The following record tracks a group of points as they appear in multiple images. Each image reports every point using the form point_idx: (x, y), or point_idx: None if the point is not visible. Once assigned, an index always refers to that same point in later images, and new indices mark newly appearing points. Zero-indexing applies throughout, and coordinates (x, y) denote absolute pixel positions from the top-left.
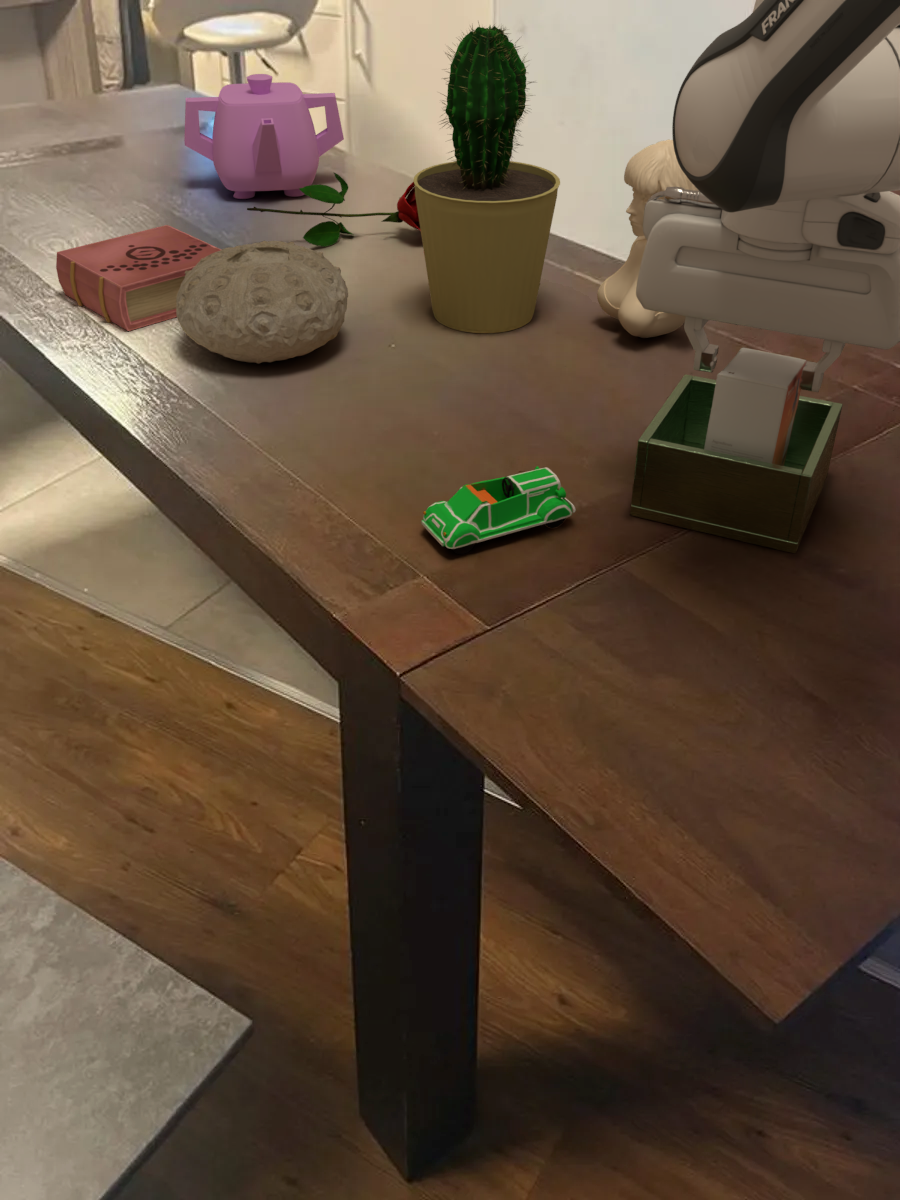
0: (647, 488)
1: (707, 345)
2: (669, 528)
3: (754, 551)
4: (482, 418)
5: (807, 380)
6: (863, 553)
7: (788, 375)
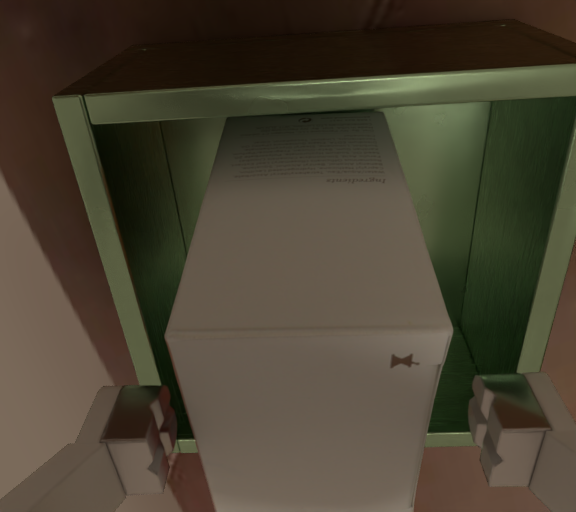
0: (508, 35)
1: (533, 473)
2: (413, 11)
3: (210, 11)
4: None
5: (130, 409)
6: (24, 120)
7: (210, 422)
